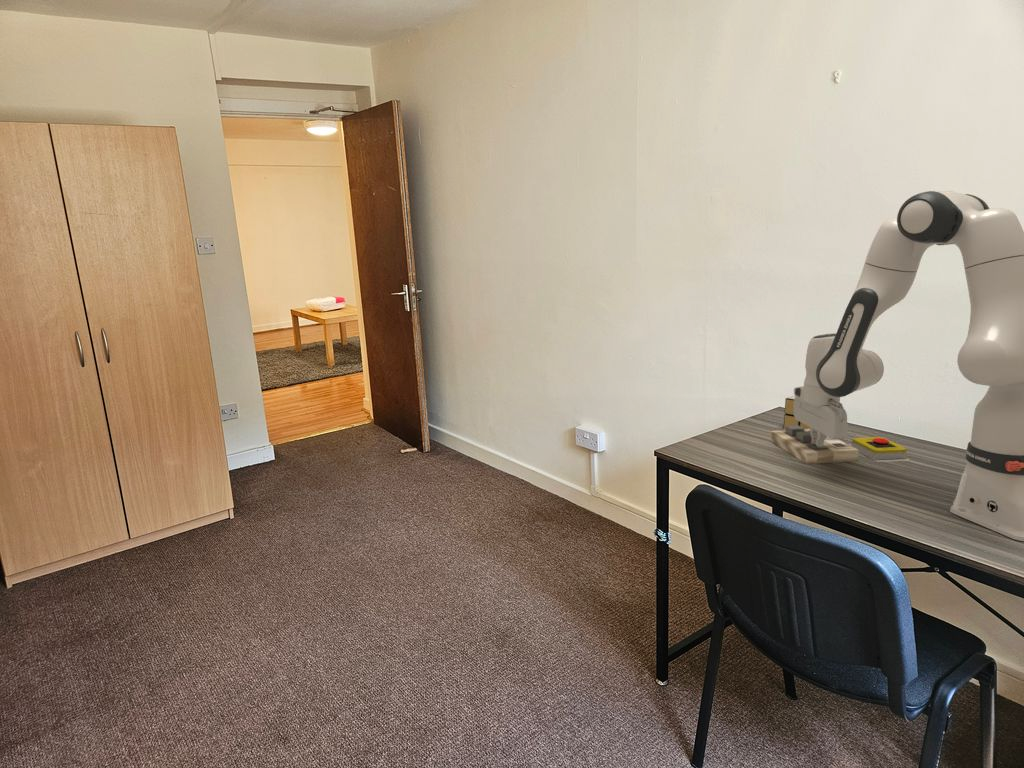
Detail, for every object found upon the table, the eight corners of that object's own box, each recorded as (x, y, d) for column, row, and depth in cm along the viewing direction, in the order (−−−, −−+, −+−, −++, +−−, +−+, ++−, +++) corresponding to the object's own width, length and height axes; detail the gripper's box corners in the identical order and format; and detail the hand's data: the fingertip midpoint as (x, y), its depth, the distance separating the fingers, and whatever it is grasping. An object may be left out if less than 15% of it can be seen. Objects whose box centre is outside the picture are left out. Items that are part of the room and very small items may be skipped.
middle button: (815, 445, 182) (816, 435, 181) (802, 446, 181) (803, 435, 181) (808, 441, 185) (809, 431, 184) (795, 442, 185) (796, 431, 184)
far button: (803, 439, 187) (804, 428, 187) (791, 439, 187) (792, 429, 186) (797, 435, 191) (797, 425, 190) (785, 435, 191) (785, 425, 190)
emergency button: (878, 448, 172) (846, 431, 187) (877, 464, 173) (845, 446, 188) (913, 446, 173) (878, 430, 187) (911, 462, 174) (876, 445, 188)
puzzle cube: (799, 423, 210) (801, 392, 208) (831, 429, 202) (833, 397, 200) (782, 429, 204) (784, 397, 202) (814, 436, 196) (817, 403, 194)
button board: (857, 460, 175) (858, 448, 174) (806, 463, 173) (807, 451, 173) (816, 438, 194) (817, 427, 193) (770, 440, 193) (771, 429, 192)
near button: (826, 458, 176) (827, 447, 175) (813, 459, 176) (814, 448, 175) (819, 453, 180) (820, 443, 179) (806, 454, 179) (807, 444, 179)
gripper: (856, 404, 164) (851, 457, 167) (812, 385, 184) (808, 433, 187) (832, 405, 164) (827, 459, 167) (790, 386, 184) (787, 435, 187)
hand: (817, 445), depth 177 cm, fingers closed, pressing on near button
